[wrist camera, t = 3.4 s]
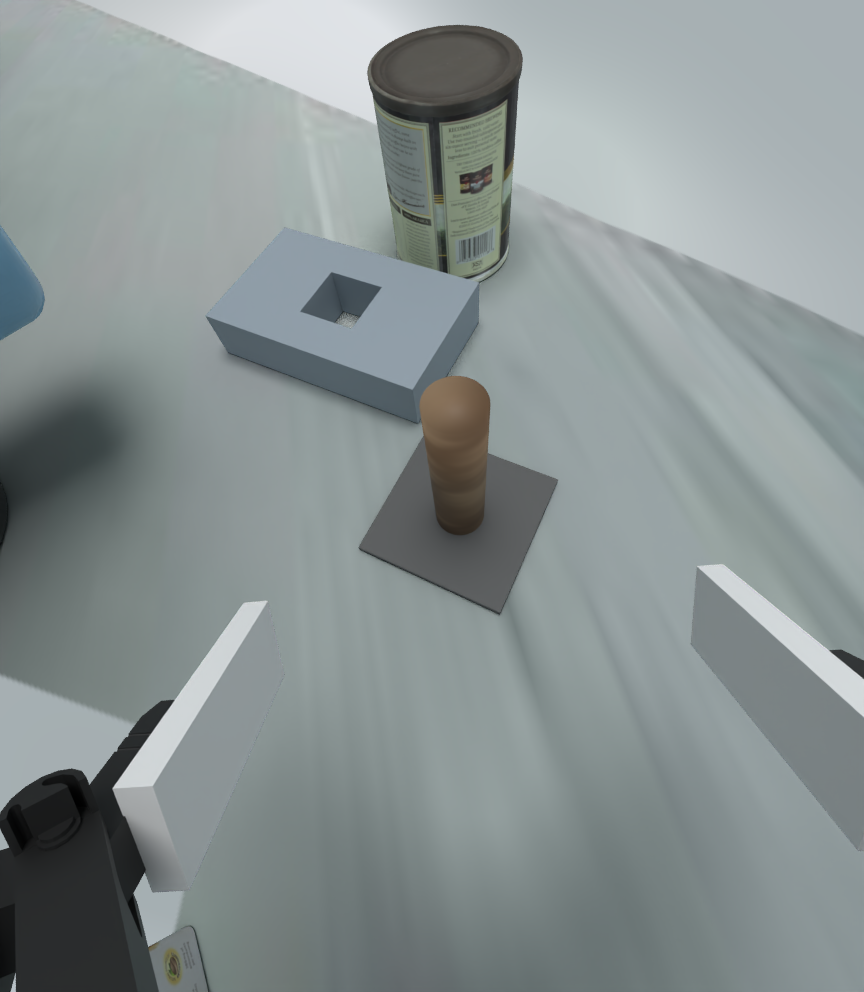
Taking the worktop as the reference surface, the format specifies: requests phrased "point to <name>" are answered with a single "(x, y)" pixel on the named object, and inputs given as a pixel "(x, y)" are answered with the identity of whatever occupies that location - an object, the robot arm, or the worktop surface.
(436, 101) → the coffee can
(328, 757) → the worktop surface
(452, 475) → the dowel
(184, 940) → the coffee box
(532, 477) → the mat
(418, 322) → the socket board
